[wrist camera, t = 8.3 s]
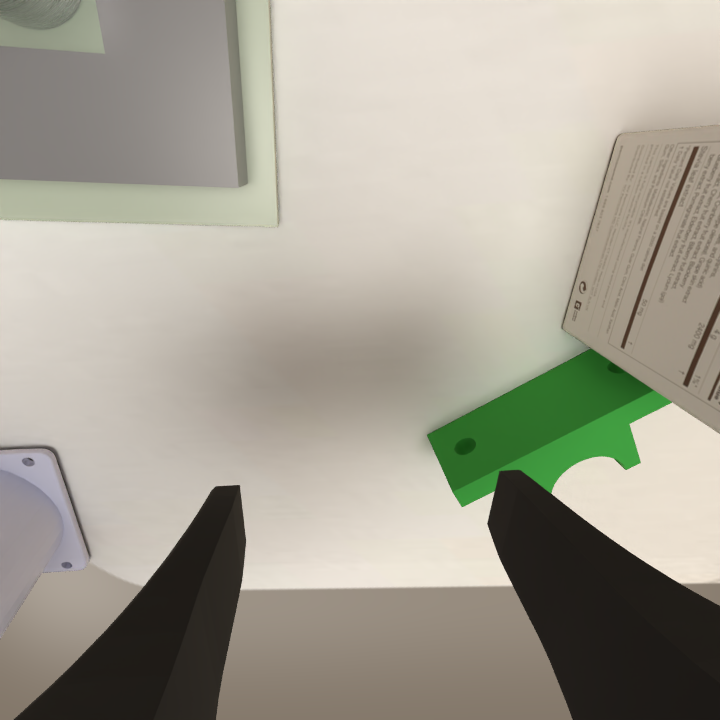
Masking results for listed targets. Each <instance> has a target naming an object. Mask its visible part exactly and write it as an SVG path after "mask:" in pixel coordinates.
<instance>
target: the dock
mask: <svg viewBox="0 0 720 720" xmlns="http://www.w3.org/2000/svg"><path fill="white" fill-rule="evenodd" d="M0 220H27V221H66V222H105V223H143V224H182V225H220V226H259V227H278V224H279V215H278V189H277V164H276V138H275V113H274V88H273V62H272V37H271V11H270V0H82V1H81V3H80V5H79V7H78V9H77V11H76V12H75V14H74V15H73V16H72V17H71V18H70V19H69V20H68V21H67V22H65V23H64V24H62V25H60V26H58V27H56V28H52V29H47V30H33V29H28V28H24V27H21V26H18V25H15V24H13V23H11V22H9V21H6V20H4V19H2V18H0Z"/></svg>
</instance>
